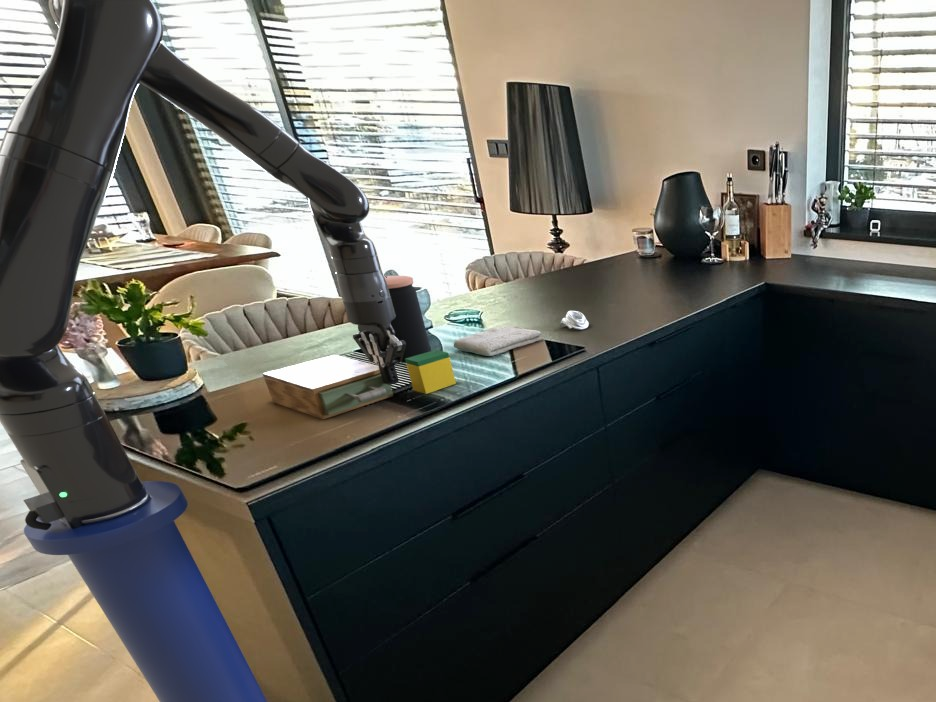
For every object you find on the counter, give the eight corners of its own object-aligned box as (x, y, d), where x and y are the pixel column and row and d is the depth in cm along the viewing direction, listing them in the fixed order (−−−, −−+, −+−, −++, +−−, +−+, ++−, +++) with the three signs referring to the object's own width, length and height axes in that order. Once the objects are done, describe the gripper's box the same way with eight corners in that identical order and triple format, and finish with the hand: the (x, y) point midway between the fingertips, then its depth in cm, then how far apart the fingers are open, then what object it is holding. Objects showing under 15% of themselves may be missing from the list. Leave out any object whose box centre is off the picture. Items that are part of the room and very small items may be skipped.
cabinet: (393, 395, 127) (385, 367, 125) (323, 419, 116) (312, 389, 114) (344, 381, 134) (335, 354, 131) (273, 402, 123) (262, 373, 120)
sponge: (426, 394, 128) (417, 361, 125) (413, 390, 130) (404, 358, 127) (456, 383, 134) (448, 352, 131) (443, 380, 136) (435, 349, 132)
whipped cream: (577, 325, 179) (574, 308, 177) (595, 326, 176) (593, 309, 175) (557, 330, 172) (553, 312, 171) (575, 331, 170) (572, 313, 168)
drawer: (408, 398, 124) (402, 377, 122) (344, 420, 114) (336, 398, 112) (347, 380, 132) (340, 360, 130) (281, 399, 122) (273, 379, 120)
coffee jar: (442, 351, 153) (423, 277, 145) (407, 365, 144) (386, 286, 136) (406, 347, 155) (385, 274, 147) (369, 360, 146) (346, 283, 138)
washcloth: (545, 339, 163) (543, 328, 162) (489, 359, 149) (486, 346, 147) (511, 333, 168) (509, 322, 166) (454, 351, 153) (451, 339, 152)
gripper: (323, 295, 115) (351, 383, 123) (368, 304, 110) (394, 395, 118) (364, 287, 121) (388, 372, 129) (408, 296, 116) (431, 383, 124)
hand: (391, 383), depth 123 cm, fingers closed
